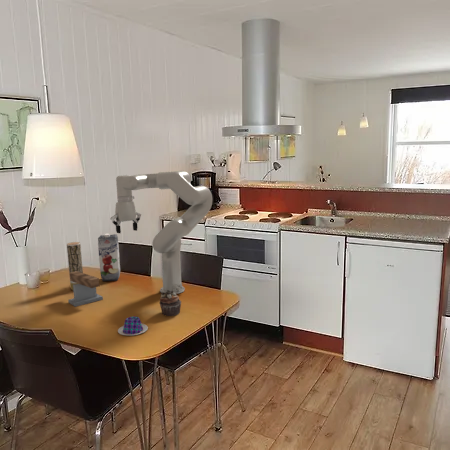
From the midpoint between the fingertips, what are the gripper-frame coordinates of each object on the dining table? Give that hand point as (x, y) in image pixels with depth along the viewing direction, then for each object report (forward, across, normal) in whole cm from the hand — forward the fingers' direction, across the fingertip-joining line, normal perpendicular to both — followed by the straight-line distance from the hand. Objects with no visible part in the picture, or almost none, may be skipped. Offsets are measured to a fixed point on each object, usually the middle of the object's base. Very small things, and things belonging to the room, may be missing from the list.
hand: (127, 231), depth 228 cm
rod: (+21, +27, +4) cm, 35 cm away
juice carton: (+31, +1, -21) cm, 37 cm away
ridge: (+30, +27, +4) cm, 41 cm away
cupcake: (+31, +6, +47) cm, 56 cm away
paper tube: (+31, +22, -18) cm, 42 cm away
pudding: (+31, +28, +52) cm, 67 cm away
